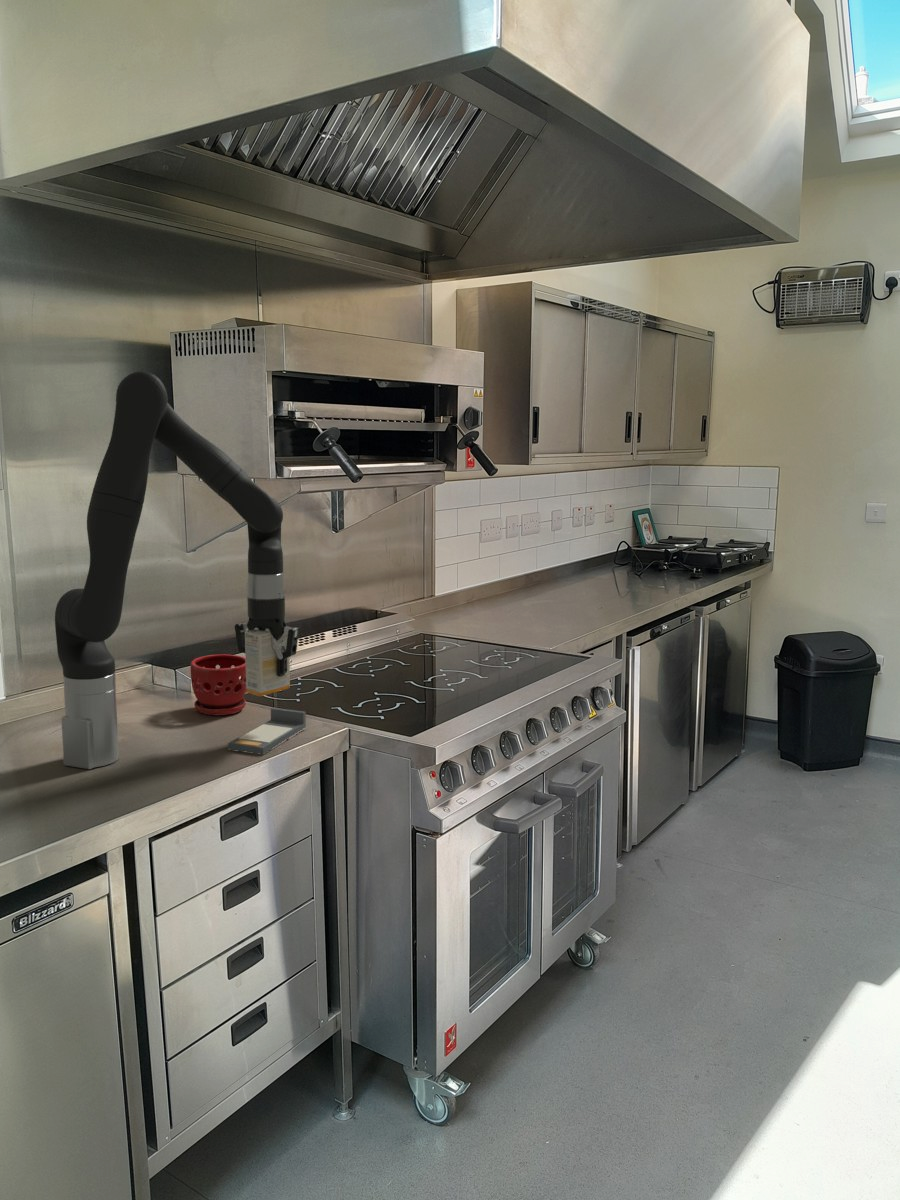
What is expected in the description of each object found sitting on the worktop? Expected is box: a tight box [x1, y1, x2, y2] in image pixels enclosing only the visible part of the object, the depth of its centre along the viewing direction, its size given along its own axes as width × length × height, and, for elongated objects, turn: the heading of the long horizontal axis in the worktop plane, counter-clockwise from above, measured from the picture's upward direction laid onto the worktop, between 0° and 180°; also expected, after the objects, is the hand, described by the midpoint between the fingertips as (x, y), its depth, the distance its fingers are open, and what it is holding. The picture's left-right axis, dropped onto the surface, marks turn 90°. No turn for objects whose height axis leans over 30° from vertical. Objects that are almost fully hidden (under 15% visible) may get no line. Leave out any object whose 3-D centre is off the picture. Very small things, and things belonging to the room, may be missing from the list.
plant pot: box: [190, 653, 247, 716], centre depth 207 cm, size 13×13×12 cm
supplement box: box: [244, 630, 291, 697], centre depth 186 cm, size 8×5×13 cm, turn 142°
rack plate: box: [227, 707, 307, 755], centre depth 188 cm, size 18×8×4 cm, turn 161°
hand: (267, 674), depth 186 cm, fingers closed on supplement box, 6 cm apart
